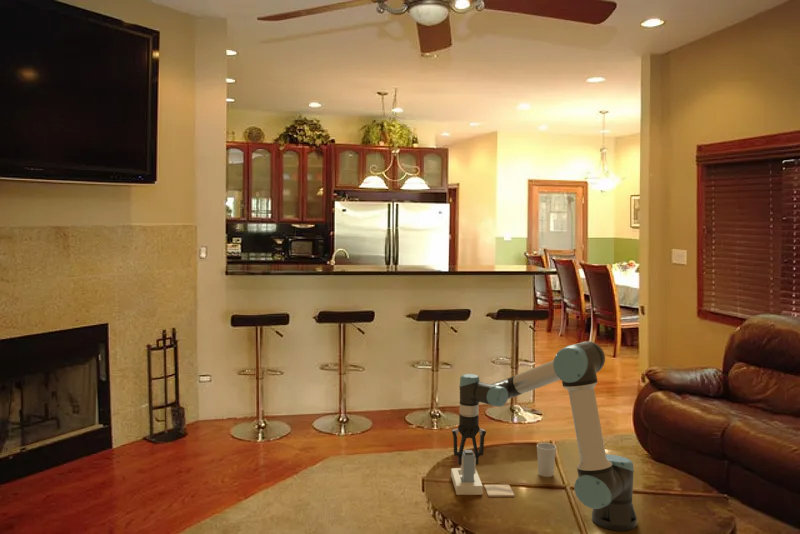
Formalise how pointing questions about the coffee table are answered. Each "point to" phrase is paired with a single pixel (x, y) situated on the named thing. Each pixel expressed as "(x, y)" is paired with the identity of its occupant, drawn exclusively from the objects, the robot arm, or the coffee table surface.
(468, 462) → the plug
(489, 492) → the pad
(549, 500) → the coffee table surface
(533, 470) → the coffee table surface
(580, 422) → the robot arm
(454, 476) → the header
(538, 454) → the cup
